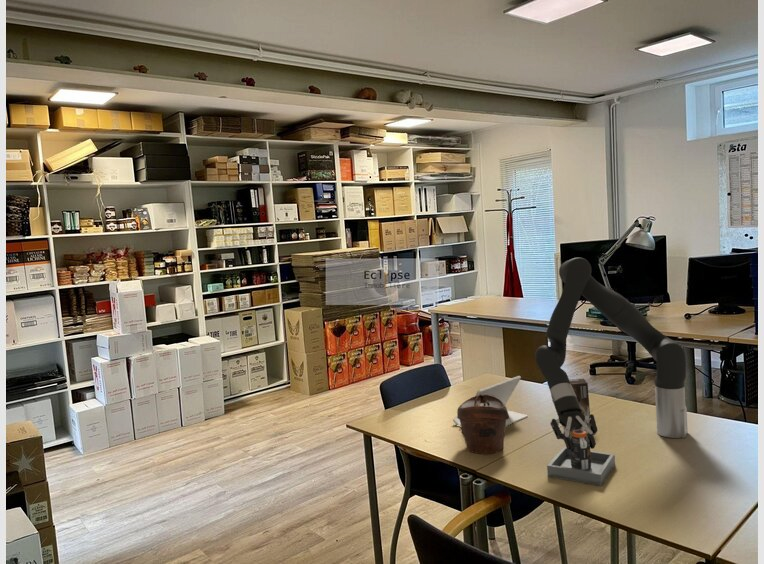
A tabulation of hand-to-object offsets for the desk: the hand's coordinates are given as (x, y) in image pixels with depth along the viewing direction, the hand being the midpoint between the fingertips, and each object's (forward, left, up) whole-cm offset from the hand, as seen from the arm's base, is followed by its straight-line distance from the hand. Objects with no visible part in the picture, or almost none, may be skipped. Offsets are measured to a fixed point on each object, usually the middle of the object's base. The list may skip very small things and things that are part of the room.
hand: (582, 448), depth 177 cm
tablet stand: (+46, -32, -8) cm, 57 cm away
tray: (+1, -1, -8) cm, 8 cm away
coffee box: (+15, -42, -8) cm, 46 cm away
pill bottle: (+1, -1, -7) cm, 7 cm away
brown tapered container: (+37, -7, -8) cm, 39 cm away
